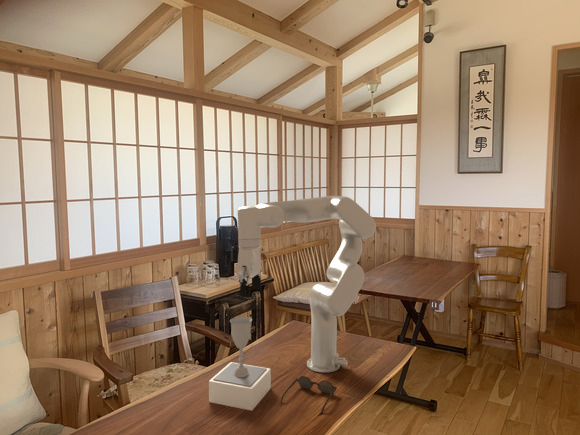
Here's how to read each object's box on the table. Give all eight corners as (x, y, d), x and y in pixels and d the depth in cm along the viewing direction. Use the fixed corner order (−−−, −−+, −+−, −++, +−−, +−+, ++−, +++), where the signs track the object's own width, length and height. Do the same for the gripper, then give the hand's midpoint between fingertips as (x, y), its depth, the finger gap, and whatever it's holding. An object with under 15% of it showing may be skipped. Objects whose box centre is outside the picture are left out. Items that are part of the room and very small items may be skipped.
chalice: (234, 380, 141) (233, 325, 139) (227, 371, 147) (226, 318, 145) (255, 375, 144) (255, 321, 143) (247, 367, 150) (247, 315, 149)
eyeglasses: (336, 395, 147) (336, 381, 147) (321, 418, 134) (321, 402, 133) (296, 386, 153) (296, 372, 153) (277, 407, 140) (277, 392, 139)
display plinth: (270, 388, 151) (270, 367, 150) (251, 410, 137) (251, 388, 136) (230, 381, 156) (230, 361, 155) (209, 402, 142) (208, 380, 141)
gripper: (249, 238, 159) (250, 285, 161) (228, 247, 143) (230, 299, 145) (269, 239, 157) (270, 286, 159) (249, 248, 140) (251, 300, 142)
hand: (251, 292), depth 152 cm, fingers open, 9 cm apart
